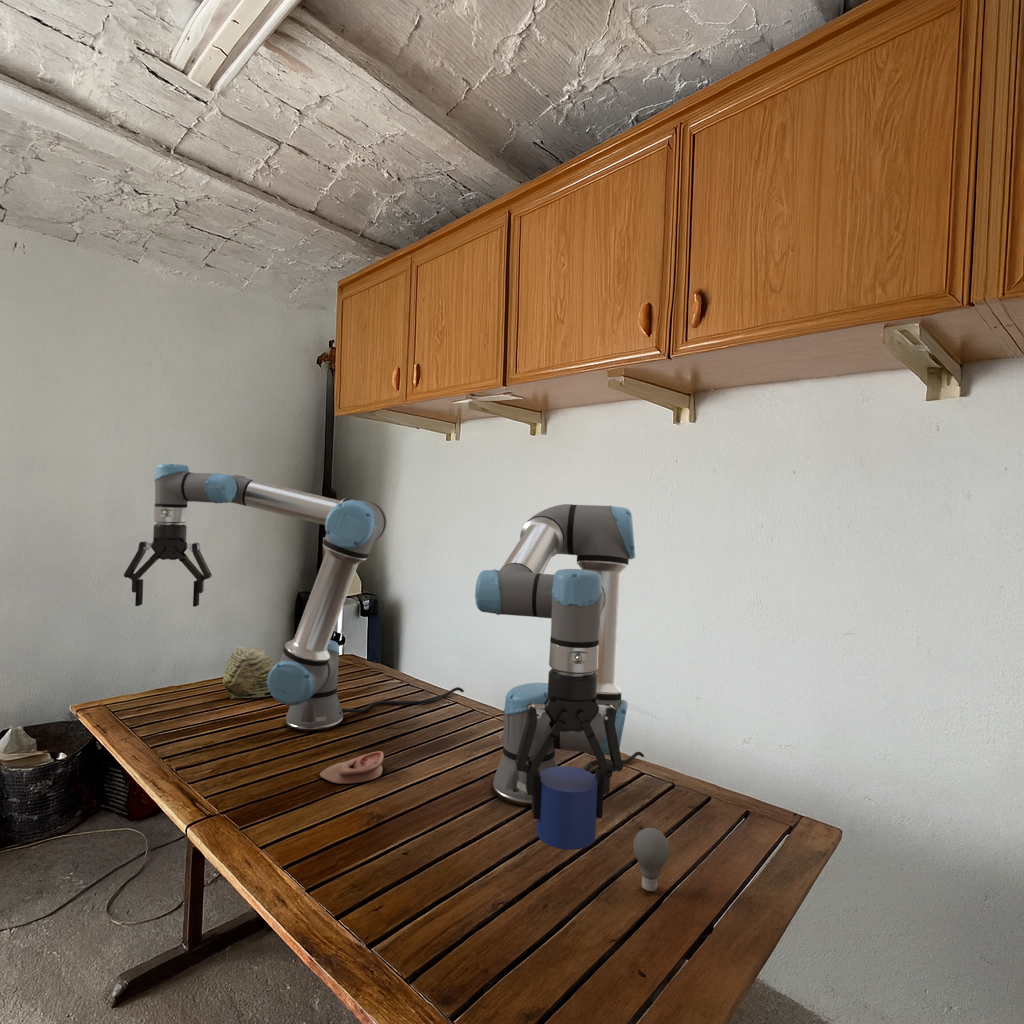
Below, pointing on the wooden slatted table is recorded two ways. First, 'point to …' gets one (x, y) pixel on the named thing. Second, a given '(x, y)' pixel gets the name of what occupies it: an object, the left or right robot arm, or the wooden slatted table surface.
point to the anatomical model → (355, 769)
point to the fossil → (248, 673)
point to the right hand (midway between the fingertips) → (566, 814)
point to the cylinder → (567, 808)
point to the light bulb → (650, 855)
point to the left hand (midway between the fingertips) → (167, 605)
